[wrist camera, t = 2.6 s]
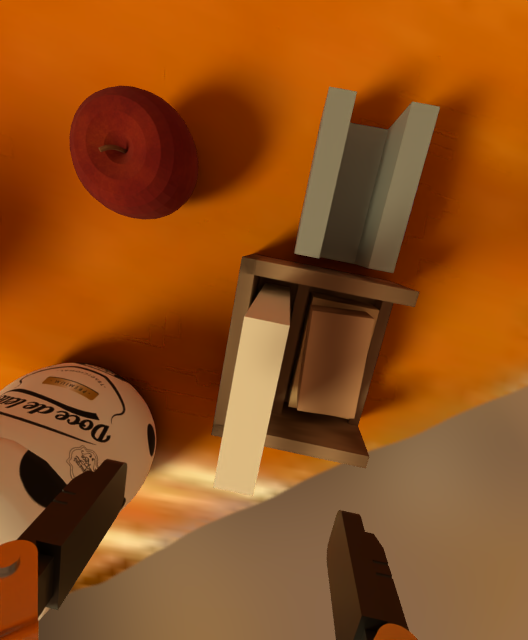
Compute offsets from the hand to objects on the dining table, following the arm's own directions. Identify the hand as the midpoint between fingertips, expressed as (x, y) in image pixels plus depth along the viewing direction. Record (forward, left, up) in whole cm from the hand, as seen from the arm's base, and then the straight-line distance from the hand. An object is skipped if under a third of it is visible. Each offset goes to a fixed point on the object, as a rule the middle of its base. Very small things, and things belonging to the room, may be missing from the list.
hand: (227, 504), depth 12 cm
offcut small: (-6, -1, -20) cm, 20 cm away
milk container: (+18, +15, -24) cm, 34 cm away
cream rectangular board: (0, 0, -23) cm, 23 cm away
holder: (-5, -15, -24) cm, 29 cm away
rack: (-4, 0, -24) cm, 24 cm away
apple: (+13, -14, -24) cm, 31 cm away
